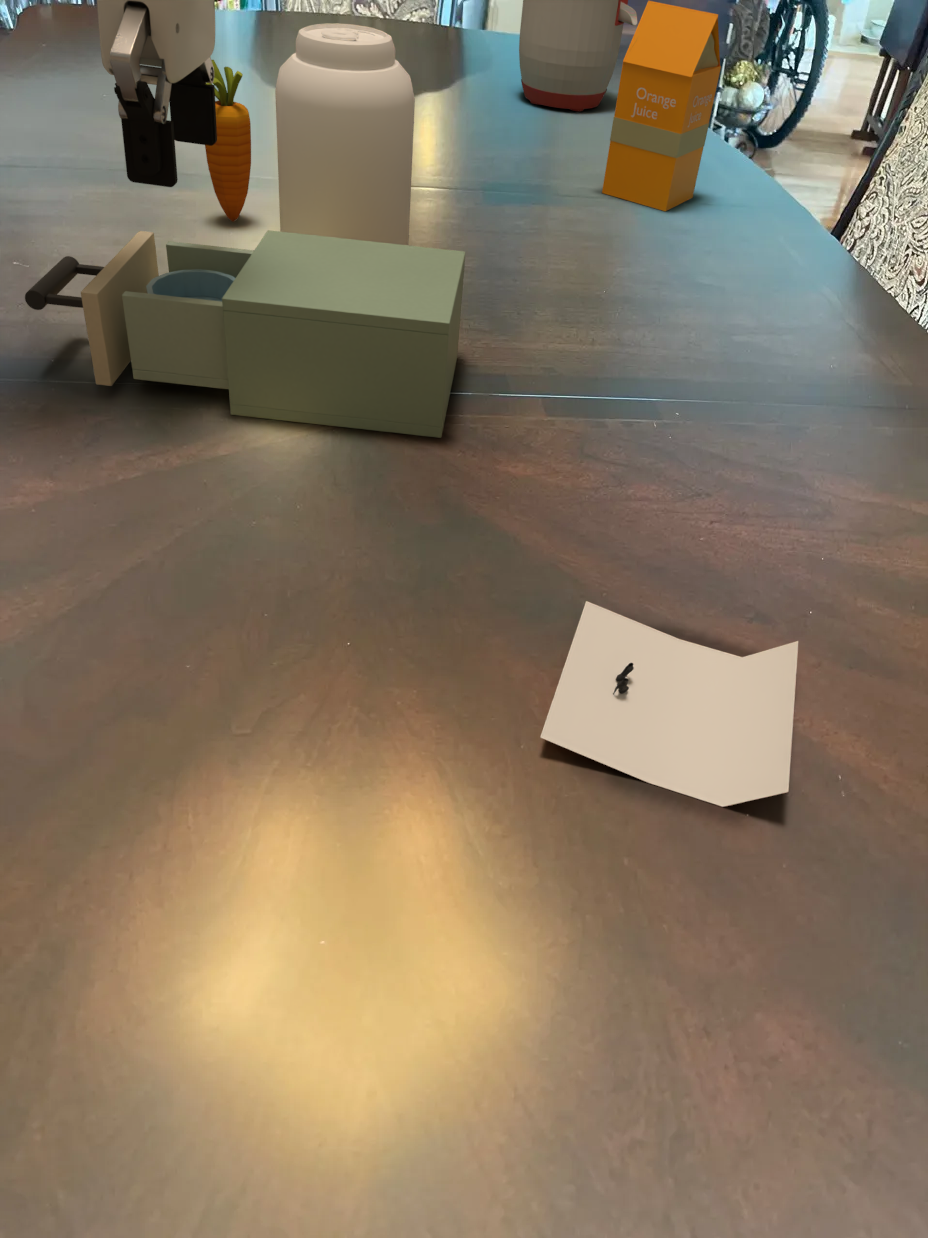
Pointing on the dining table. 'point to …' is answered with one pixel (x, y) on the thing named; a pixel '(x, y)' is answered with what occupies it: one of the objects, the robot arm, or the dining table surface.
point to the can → (345, 136)
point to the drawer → (148, 313)
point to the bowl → (191, 284)
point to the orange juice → (663, 107)
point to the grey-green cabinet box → (344, 333)
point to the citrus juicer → (570, 49)
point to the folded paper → (676, 710)
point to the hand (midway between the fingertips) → (175, 161)
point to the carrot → (230, 146)
